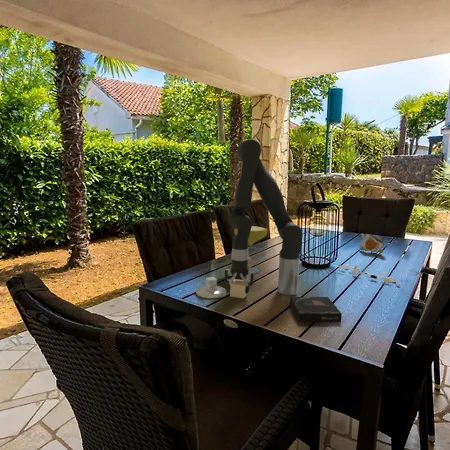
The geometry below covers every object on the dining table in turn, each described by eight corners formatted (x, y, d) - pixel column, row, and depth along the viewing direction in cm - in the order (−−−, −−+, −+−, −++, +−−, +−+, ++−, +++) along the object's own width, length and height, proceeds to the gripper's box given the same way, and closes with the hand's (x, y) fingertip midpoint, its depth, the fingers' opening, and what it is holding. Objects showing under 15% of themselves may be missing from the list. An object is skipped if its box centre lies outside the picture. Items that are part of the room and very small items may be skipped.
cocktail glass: (227, 273, 187) (228, 228, 182) (241, 264, 203) (242, 223, 198) (258, 278, 179) (259, 232, 174) (270, 269, 194) (272, 226, 190)
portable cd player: (326, 304, 149) (327, 296, 148) (340, 323, 132) (341, 313, 131) (289, 304, 148) (289, 296, 147) (299, 323, 131) (299, 313, 131)
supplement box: (235, 284, 170) (235, 259, 168) (232, 280, 175) (233, 256, 173) (250, 282, 173) (251, 258, 170) (247, 279, 177) (248, 255, 175)
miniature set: (331, 270, 192) (339, 268, 202) (397, 289, 170) (403, 287, 180) (333, 259, 192) (341, 258, 201) (400, 277, 170) (406, 275, 179)
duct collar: (247, 293, 159) (247, 280, 158) (244, 298, 153) (244, 285, 152) (234, 291, 161) (234, 279, 160) (230, 296, 155) (230, 284, 154)
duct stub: (217, 285, 168) (217, 272, 167) (231, 295, 156) (231, 281, 155) (191, 290, 162) (191, 276, 160) (203, 300, 149) (203, 285, 148)
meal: (358, 252, 234) (359, 234, 231) (360, 251, 237) (361, 233, 235) (381, 256, 225) (383, 237, 223) (383, 255, 228) (385, 236, 226)
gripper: (257, 257, 155) (255, 291, 158) (227, 254, 159) (226, 287, 162) (253, 261, 148) (252, 297, 151) (222, 258, 152) (221, 293, 155)
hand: (239, 292), depth 157 cm, fingers closed on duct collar, 6 cm apart
